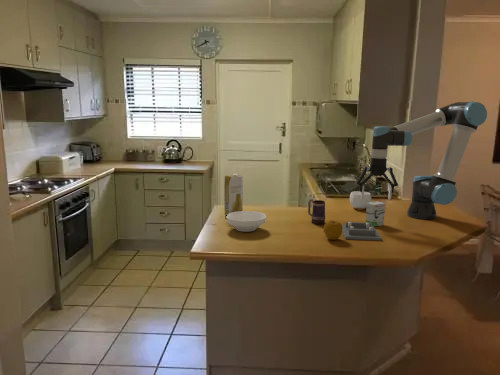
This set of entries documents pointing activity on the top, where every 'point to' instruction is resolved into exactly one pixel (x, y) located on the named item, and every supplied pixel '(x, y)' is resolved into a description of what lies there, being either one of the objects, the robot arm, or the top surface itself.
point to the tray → (360, 231)
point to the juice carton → (233, 193)
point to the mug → (317, 211)
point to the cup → (359, 200)
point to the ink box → (375, 213)
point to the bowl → (246, 220)
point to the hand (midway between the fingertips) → (375, 198)
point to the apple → (333, 230)
